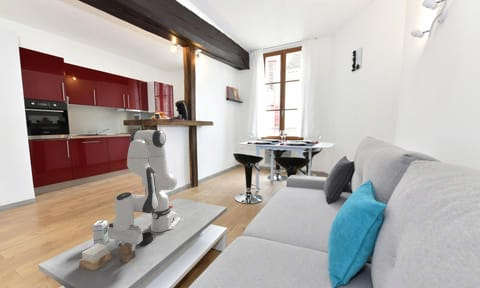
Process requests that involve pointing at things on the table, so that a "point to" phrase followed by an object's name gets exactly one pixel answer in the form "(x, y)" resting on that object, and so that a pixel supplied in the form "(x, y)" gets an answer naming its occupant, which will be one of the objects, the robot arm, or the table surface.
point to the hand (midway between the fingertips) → (126, 248)
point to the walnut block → (126, 252)
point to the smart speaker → (146, 238)
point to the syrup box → (100, 232)
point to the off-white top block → (95, 252)
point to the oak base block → (96, 264)
